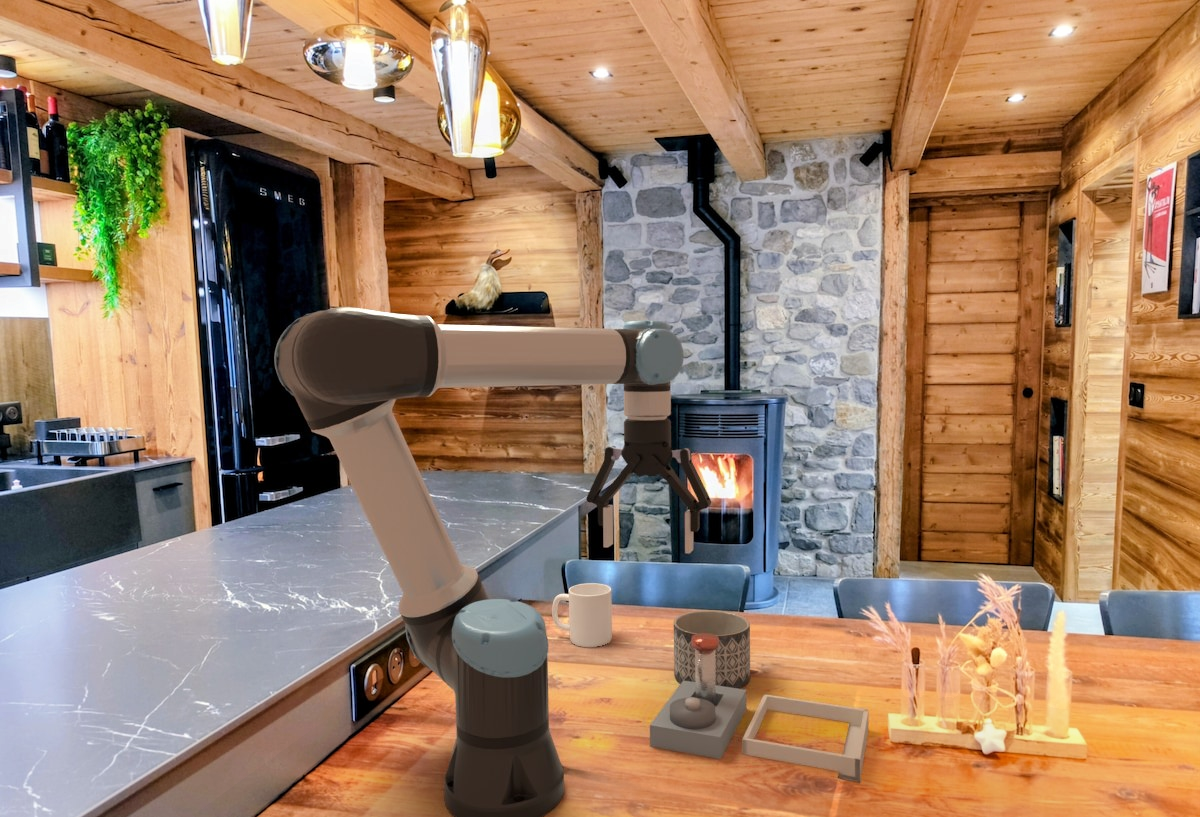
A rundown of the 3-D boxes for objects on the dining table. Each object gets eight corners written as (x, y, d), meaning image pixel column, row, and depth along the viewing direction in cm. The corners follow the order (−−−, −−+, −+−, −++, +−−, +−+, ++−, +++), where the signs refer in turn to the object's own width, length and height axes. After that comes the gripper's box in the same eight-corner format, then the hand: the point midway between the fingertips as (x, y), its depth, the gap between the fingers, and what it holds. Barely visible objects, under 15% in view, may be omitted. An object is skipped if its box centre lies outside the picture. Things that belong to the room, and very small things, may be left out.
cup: (606, 649, 148) (605, 596, 148) (546, 644, 151) (544, 593, 151) (616, 634, 156) (615, 584, 156) (559, 630, 159) (557, 581, 159)
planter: (660, 677, 135) (659, 617, 134) (720, 662, 141) (719, 605, 140) (702, 705, 124) (701, 641, 123) (766, 688, 130) (765, 626, 129)
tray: (859, 782, 101) (859, 759, 101) (742, 760, 107) (742, 739, 106) (868, 729, 115) (868, 709, 115) (764, 713, 121) (764, 694, 120)
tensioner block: (720, 766, 105) (720, 718, 105) (650, 752, 109) (649, 706, 109) (746, 715, 120) (746, 673, 120) (683, 705, 124) (683, 664, 124)
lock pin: (715, 725, 115) (714, 644, 114) (689, 721, 116) (688, 640, 116) (722, 714, 118) (721, 635, 118) (696, 709, 120) (695, 631, 119)
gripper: (729, 417, 125) (729, 548, 127) (582, 415, 134) (584, 538, 135) (720, 420, 118) (720, 559, 119) (566, 418, 127) (567, 548, 128)
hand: (648, 548), depth 127 cm, fingers open, 13 cm apart
